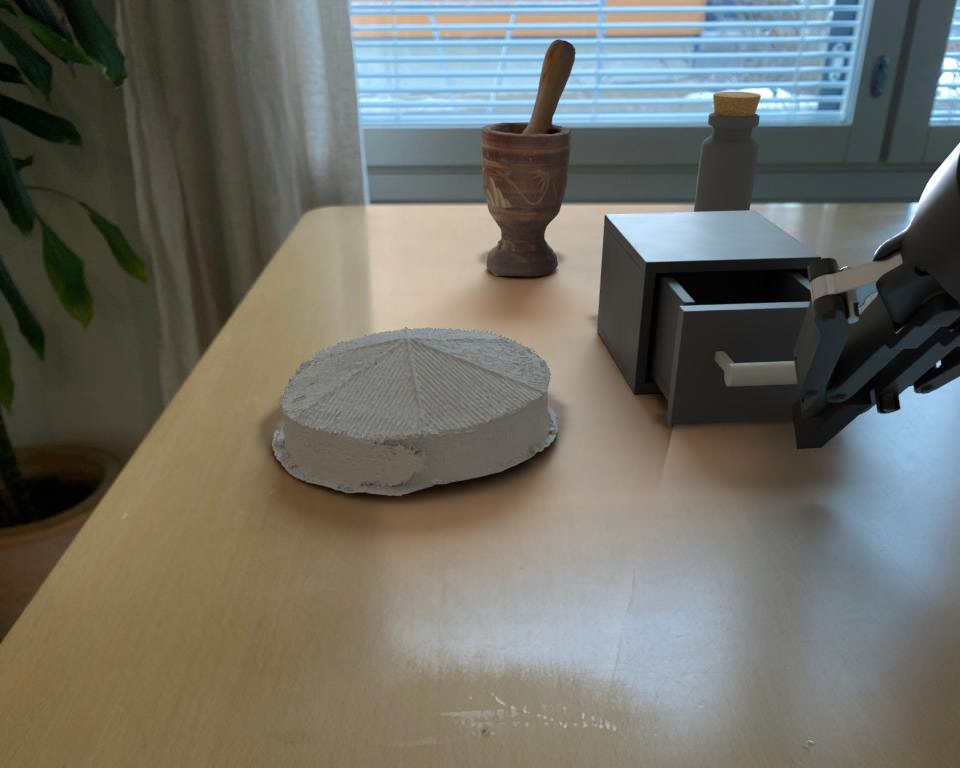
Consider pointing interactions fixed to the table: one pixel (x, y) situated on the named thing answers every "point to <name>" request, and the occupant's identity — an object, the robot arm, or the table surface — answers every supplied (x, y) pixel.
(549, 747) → the table surface
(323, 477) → the grey round squat piece
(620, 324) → the cabinet
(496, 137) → the mortar and pestle
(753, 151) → the bottle
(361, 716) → the table surface
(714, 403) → the drawer
